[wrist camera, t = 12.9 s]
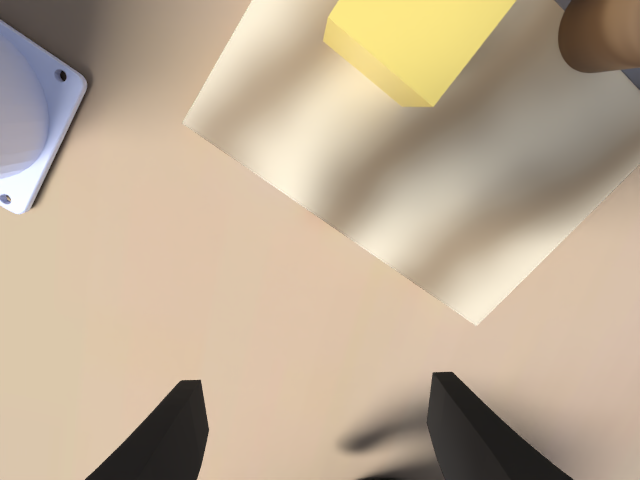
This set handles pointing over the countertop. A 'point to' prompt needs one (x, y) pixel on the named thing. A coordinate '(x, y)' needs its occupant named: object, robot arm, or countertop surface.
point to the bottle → (600, 35)
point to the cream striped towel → (428, 145)
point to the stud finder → (412, 42)
